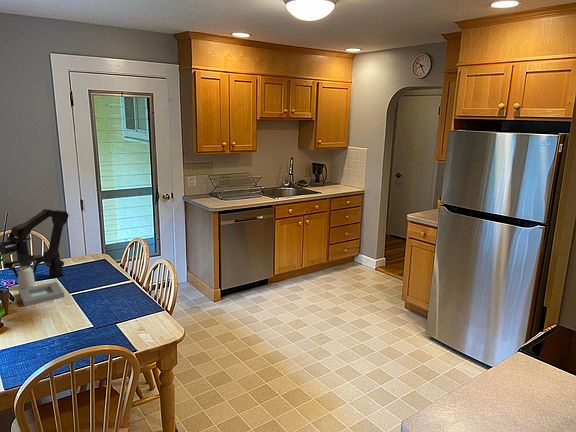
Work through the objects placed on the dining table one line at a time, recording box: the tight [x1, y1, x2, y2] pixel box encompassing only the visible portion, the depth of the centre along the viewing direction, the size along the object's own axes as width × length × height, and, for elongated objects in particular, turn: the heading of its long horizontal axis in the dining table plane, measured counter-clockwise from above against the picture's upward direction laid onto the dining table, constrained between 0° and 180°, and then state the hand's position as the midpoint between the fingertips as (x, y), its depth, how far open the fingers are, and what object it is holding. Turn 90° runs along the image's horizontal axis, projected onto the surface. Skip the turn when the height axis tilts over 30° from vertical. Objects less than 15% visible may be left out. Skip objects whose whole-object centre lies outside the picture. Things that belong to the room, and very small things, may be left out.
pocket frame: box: [18, 281, 65, 307], centre depth 218 cm, size 18×18×2 cm
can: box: [16, 264, 36, 289], centre depth 227 cm, size 8×8×12 cm
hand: (25, 276), depth 227 cm, fingers closed on can, 7 cm apart
